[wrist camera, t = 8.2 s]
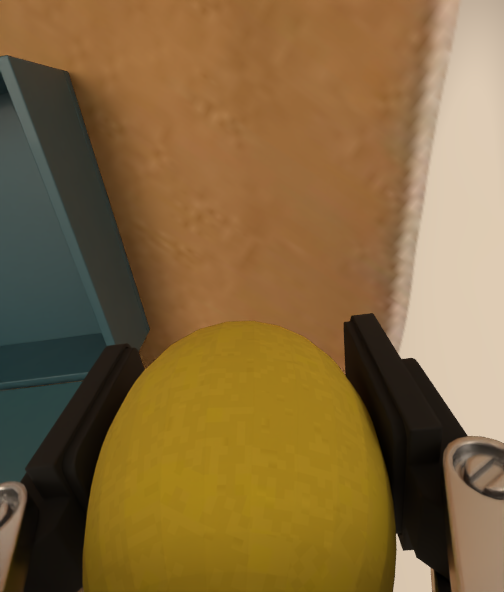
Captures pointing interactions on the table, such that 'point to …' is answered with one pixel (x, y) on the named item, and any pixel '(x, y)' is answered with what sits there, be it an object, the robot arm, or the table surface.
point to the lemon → (241, 474)
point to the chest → (56, 238)
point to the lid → (28, 423)
